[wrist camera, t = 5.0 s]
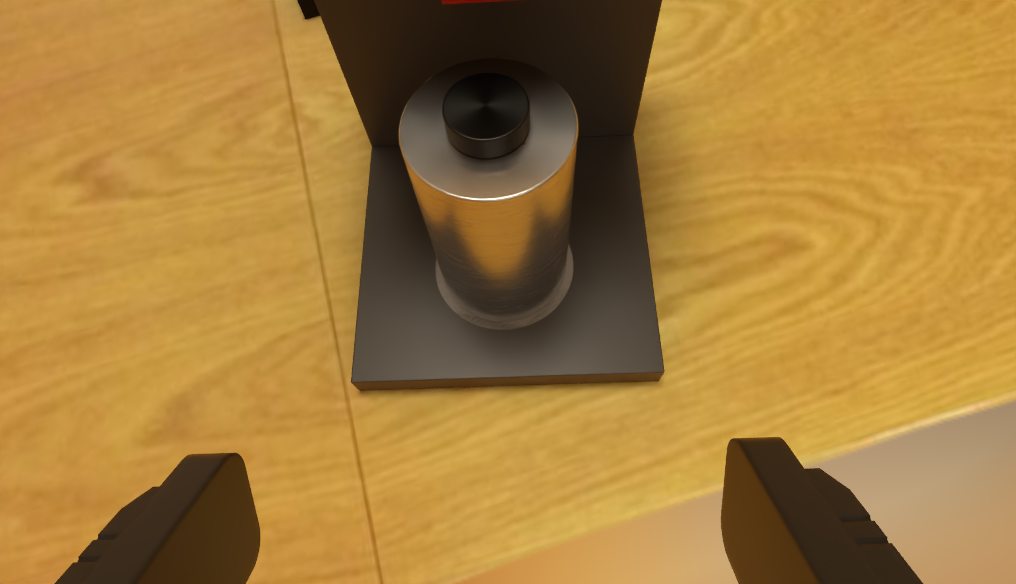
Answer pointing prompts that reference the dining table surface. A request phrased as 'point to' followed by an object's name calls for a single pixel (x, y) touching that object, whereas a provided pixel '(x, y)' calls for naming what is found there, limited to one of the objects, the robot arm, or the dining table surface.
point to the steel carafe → (494, 182)
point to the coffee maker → (595, 202)
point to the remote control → (308, 8)
